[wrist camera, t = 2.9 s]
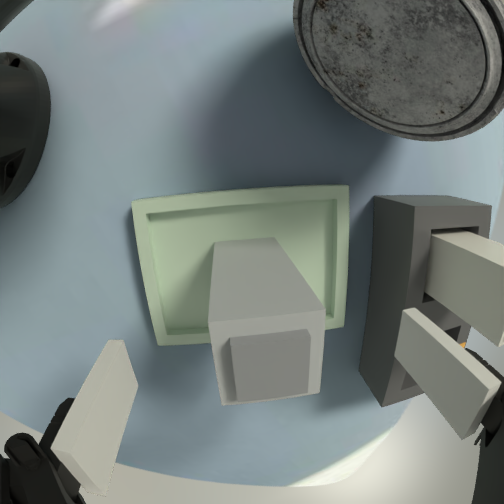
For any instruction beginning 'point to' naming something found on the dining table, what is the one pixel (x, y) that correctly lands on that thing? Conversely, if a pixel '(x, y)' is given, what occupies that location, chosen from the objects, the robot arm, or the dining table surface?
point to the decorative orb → (408, 62)
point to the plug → (263, 324)
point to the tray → (237, 228)
